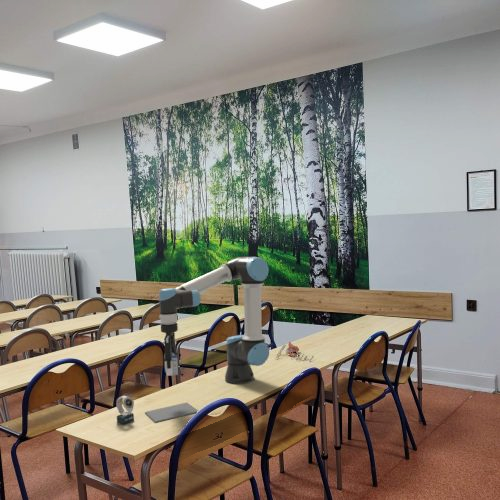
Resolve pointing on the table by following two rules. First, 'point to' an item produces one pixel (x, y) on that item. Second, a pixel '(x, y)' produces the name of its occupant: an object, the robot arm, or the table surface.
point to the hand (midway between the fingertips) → (171, 372)
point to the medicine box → (173, 364)
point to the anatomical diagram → (292, 349)
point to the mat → (171, 412)
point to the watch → (128, 404)
